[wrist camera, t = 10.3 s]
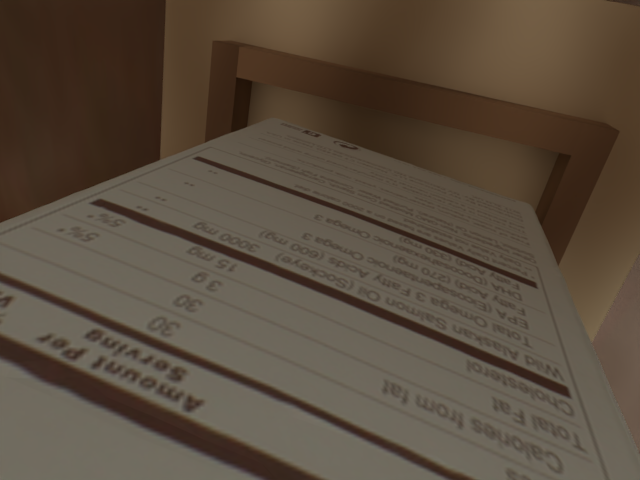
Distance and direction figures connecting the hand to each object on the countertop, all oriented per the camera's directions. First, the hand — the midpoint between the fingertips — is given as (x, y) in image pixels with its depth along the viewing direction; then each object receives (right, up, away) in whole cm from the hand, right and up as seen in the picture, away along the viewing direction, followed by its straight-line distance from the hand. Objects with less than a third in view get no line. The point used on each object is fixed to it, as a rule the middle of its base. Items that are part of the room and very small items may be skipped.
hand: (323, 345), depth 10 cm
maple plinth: (+2, +4, +9) cm, 10 cm away
